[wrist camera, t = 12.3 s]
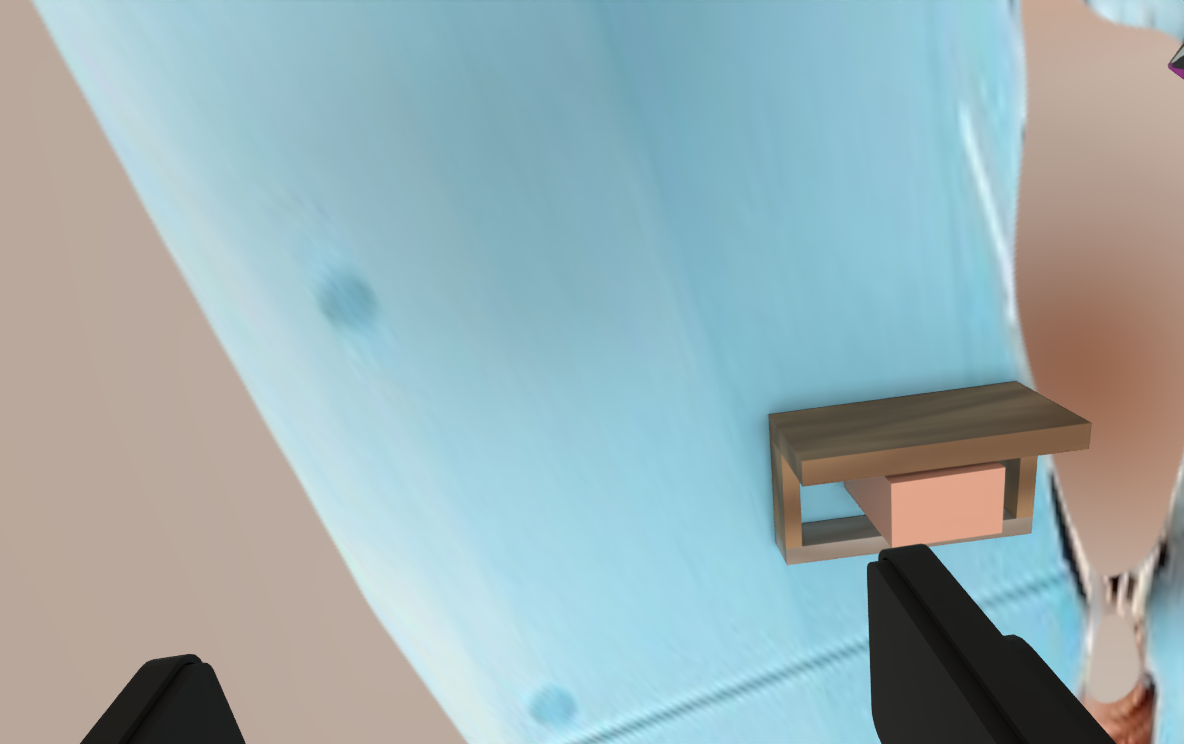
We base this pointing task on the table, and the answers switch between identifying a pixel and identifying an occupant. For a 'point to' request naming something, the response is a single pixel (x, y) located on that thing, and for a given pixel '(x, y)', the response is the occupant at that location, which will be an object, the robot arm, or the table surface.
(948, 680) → the robot arm
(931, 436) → the board
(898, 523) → the salmon pink block
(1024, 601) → the table surface
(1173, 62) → the candy bar box
